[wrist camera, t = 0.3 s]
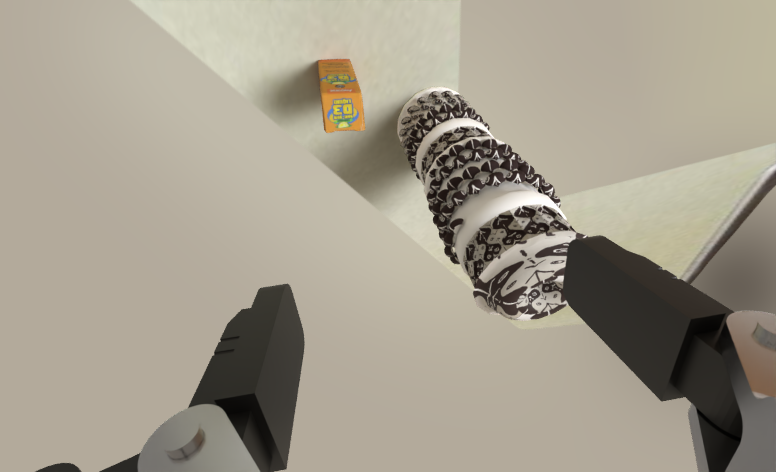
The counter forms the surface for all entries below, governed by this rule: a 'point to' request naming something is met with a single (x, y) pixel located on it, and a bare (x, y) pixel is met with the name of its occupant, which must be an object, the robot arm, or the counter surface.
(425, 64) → the counter surface
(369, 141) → the counter surface
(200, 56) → the counter surface
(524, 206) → the decorative candle
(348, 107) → the supplement box
